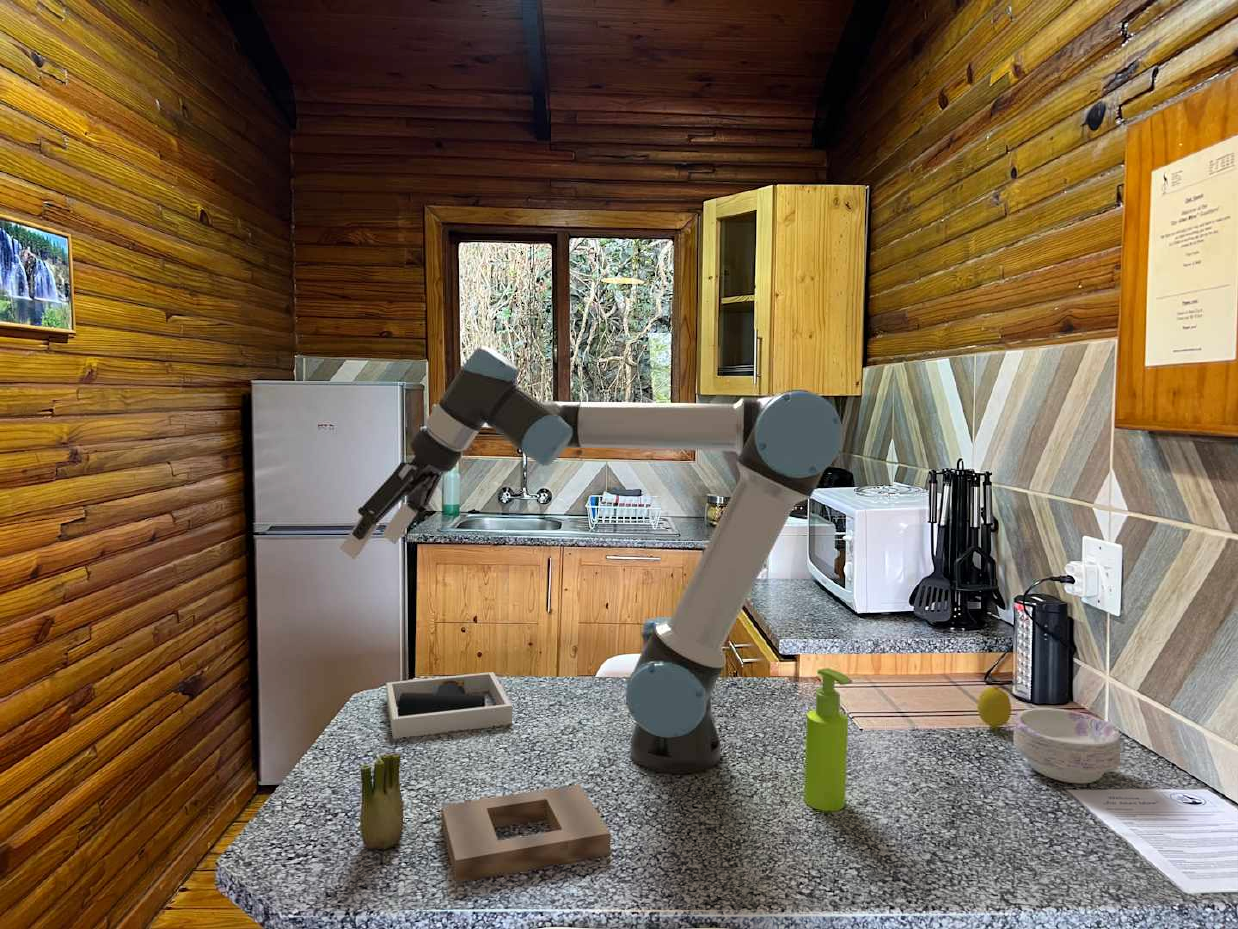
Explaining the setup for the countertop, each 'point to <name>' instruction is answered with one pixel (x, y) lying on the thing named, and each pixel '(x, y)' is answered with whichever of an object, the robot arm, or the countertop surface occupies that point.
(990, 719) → the lemon
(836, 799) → the soap dispenser
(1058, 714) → the paper bowls
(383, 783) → the fennel bulb
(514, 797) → the jig block
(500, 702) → the parts tray
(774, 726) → the countertop surface
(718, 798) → the countertop surface
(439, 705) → the pipe connector
